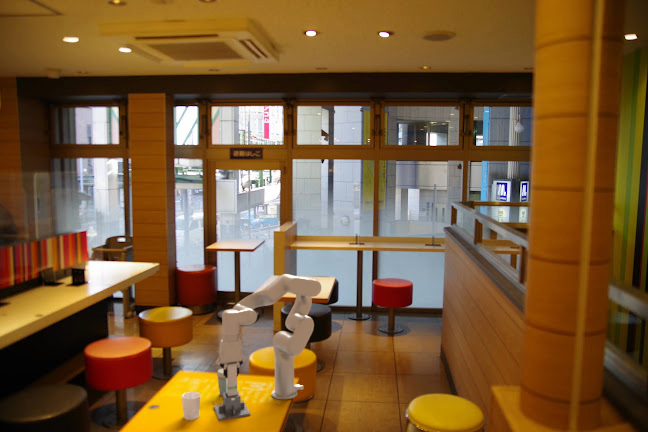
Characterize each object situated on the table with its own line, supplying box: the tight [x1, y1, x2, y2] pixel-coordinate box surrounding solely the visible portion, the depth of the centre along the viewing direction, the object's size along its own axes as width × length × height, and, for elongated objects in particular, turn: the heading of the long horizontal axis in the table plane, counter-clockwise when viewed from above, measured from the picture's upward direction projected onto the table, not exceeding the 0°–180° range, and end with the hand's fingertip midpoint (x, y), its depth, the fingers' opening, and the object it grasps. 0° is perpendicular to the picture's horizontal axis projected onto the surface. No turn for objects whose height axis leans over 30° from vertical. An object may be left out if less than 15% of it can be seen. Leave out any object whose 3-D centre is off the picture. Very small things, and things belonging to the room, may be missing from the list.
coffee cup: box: [216, 367, 226, 397], centre depth 256 cm, size 8×8×12 cm
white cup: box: [181, 391, 201, 421], centre depth 232 cm, size 8×8×10 cm
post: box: [226, 362, 238, 398], centre depth 236 cm, size 5×5×16 cm
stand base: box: [213, 390, 251, 421], centre depth 237 cm, size 14×14×8 cm
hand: (231, 375), depth 236 cm, fingers closed on post, 4 cm apart
